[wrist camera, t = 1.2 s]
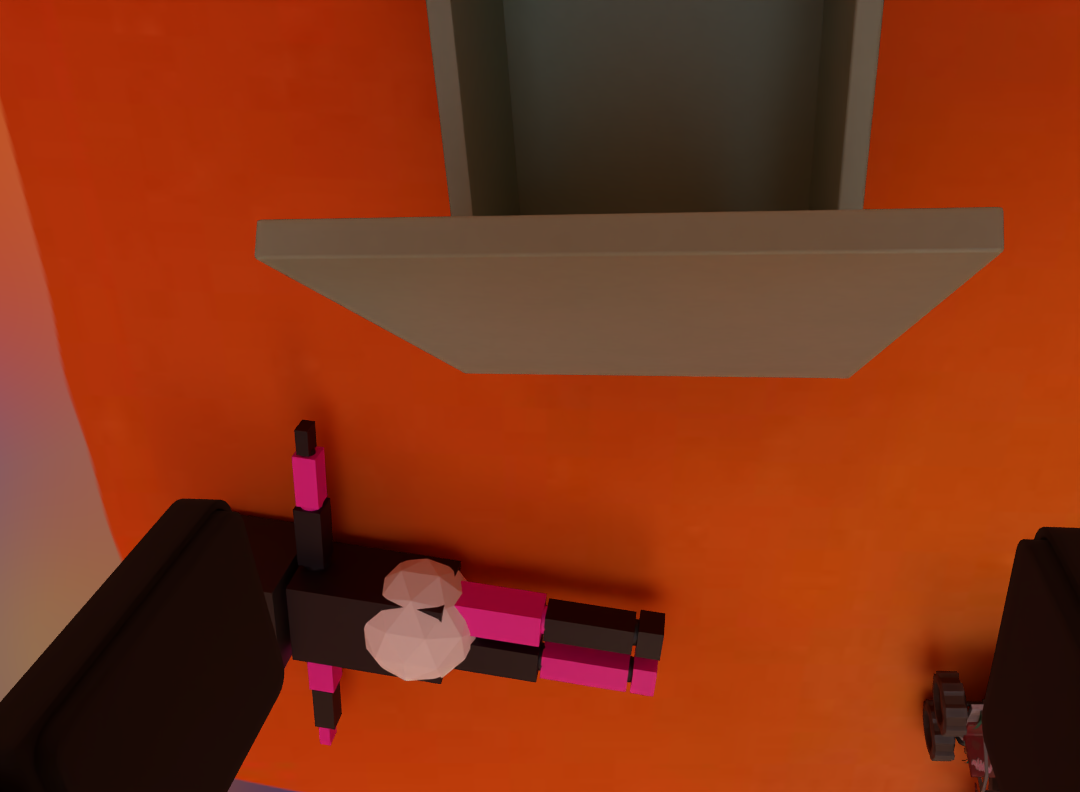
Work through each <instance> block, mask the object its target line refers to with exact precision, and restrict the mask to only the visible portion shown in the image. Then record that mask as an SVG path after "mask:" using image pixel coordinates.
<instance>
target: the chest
mask: <svg viewBox="0 0 1080 792" xmlns="http://www.w3.org/2000/svg"><path fill="white" fill-rule="evenodd" d="M426 5H427V14H428V22H429V31H430V39H431V48H432V57H433V65H434V74H435V82H436V91H437V99H438V108H439V117H440V125H441V134H442V142H443V151H444V159H445V168H446V176H447V185H448V194H449V202H450V211H451V217H452V216H510V215H568V214H626V213H684V212H741V211H799V210H857V209H863V204H864V194H865V184H866V174H867V164H868V154H869V144H870V135H871V125H872V115H873V105H874V95H875V85H876V75H877V65H878V55H879V45H880V35H881V25H882V15H883V5H884V0H426Z"/></svg>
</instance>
